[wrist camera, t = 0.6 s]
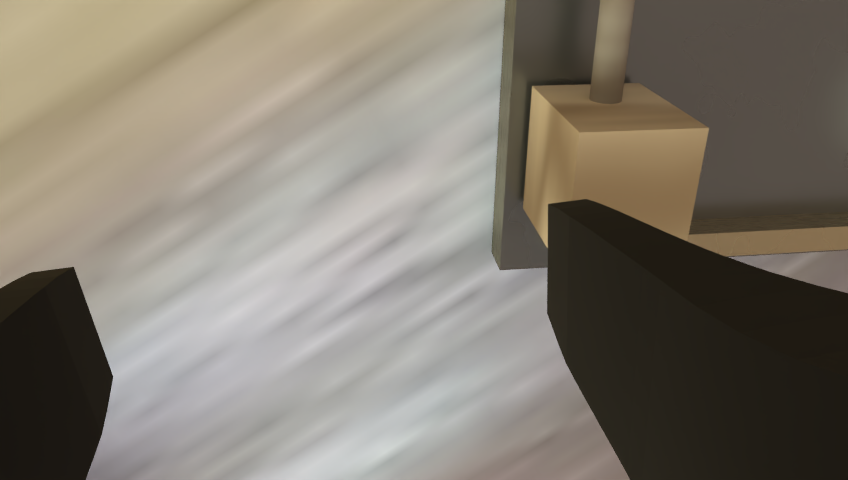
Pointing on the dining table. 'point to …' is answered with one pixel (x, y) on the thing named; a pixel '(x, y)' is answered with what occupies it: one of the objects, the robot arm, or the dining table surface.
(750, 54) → the bolt plate
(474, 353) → the dining table surface
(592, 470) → the dining table surface
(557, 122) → the slider
